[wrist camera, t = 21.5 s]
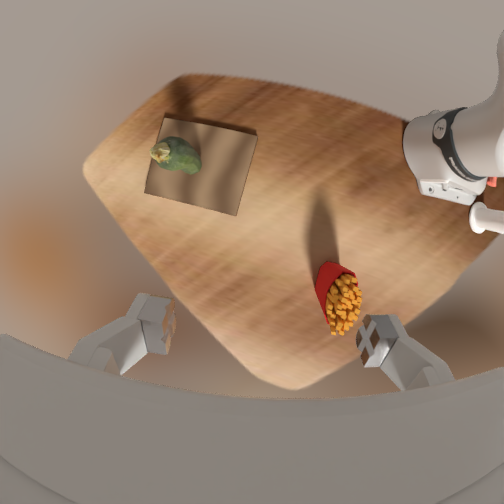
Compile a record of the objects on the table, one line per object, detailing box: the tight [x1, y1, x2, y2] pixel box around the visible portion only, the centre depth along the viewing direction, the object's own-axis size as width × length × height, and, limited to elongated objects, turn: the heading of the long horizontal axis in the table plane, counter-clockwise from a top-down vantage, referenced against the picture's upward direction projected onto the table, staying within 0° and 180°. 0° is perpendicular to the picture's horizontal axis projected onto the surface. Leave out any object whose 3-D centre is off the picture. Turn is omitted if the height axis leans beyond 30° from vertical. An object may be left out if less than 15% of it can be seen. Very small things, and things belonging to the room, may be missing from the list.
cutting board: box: [144, 118, 258, 216], centre depth 44 cm, size 17×14×2 cm
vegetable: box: [149, 136, 202, 174], centre depth 34 cm, size 4×4×20 cm
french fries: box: [315, 262, 362, 336], centre depth 42 cm, size 9×4×13 cm, turn 170°
